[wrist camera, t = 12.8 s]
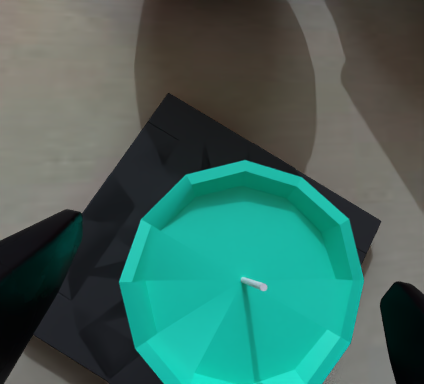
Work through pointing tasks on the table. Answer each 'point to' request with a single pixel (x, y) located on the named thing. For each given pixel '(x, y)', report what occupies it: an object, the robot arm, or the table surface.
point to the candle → (242, 280)
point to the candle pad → (128, 225)
